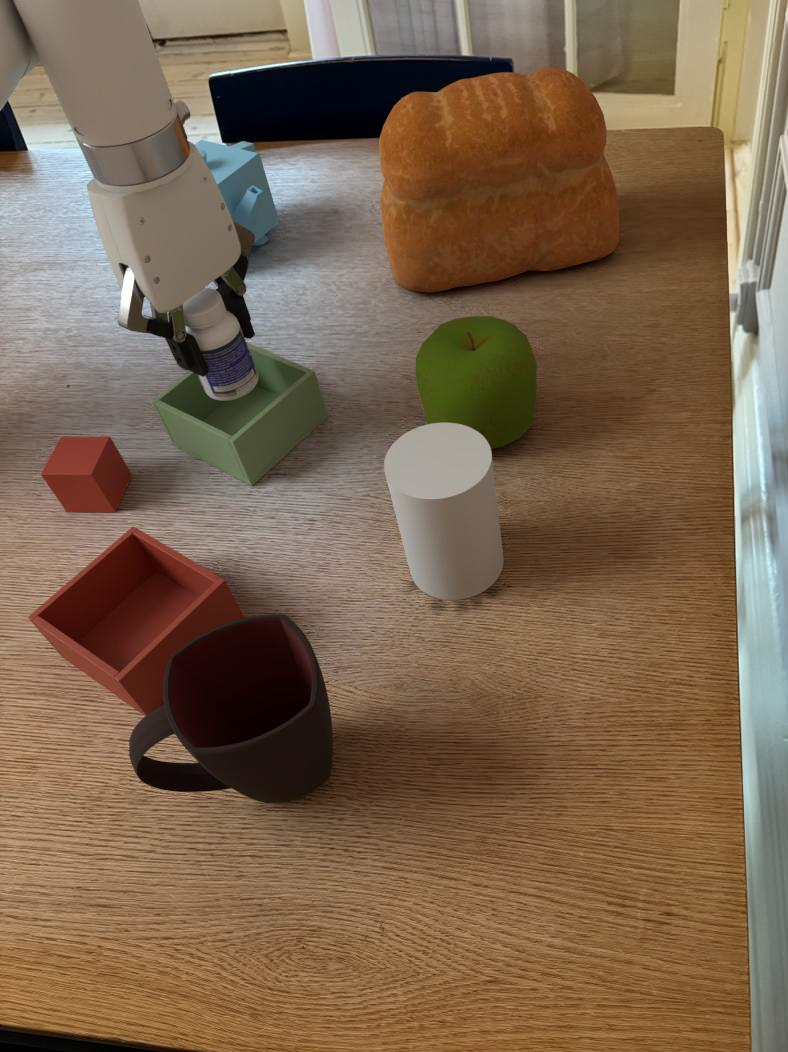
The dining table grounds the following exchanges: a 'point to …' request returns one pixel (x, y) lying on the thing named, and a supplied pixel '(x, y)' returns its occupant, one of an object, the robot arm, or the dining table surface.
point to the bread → (496, 180)
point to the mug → (242, 714)
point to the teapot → (242, 185)
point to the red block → (87, 474)
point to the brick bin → (134, 615)
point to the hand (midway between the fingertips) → (218, 349)
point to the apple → (479, 377)
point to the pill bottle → (220, 346)
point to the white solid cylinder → (446, 509)
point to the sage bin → (244, 417)
